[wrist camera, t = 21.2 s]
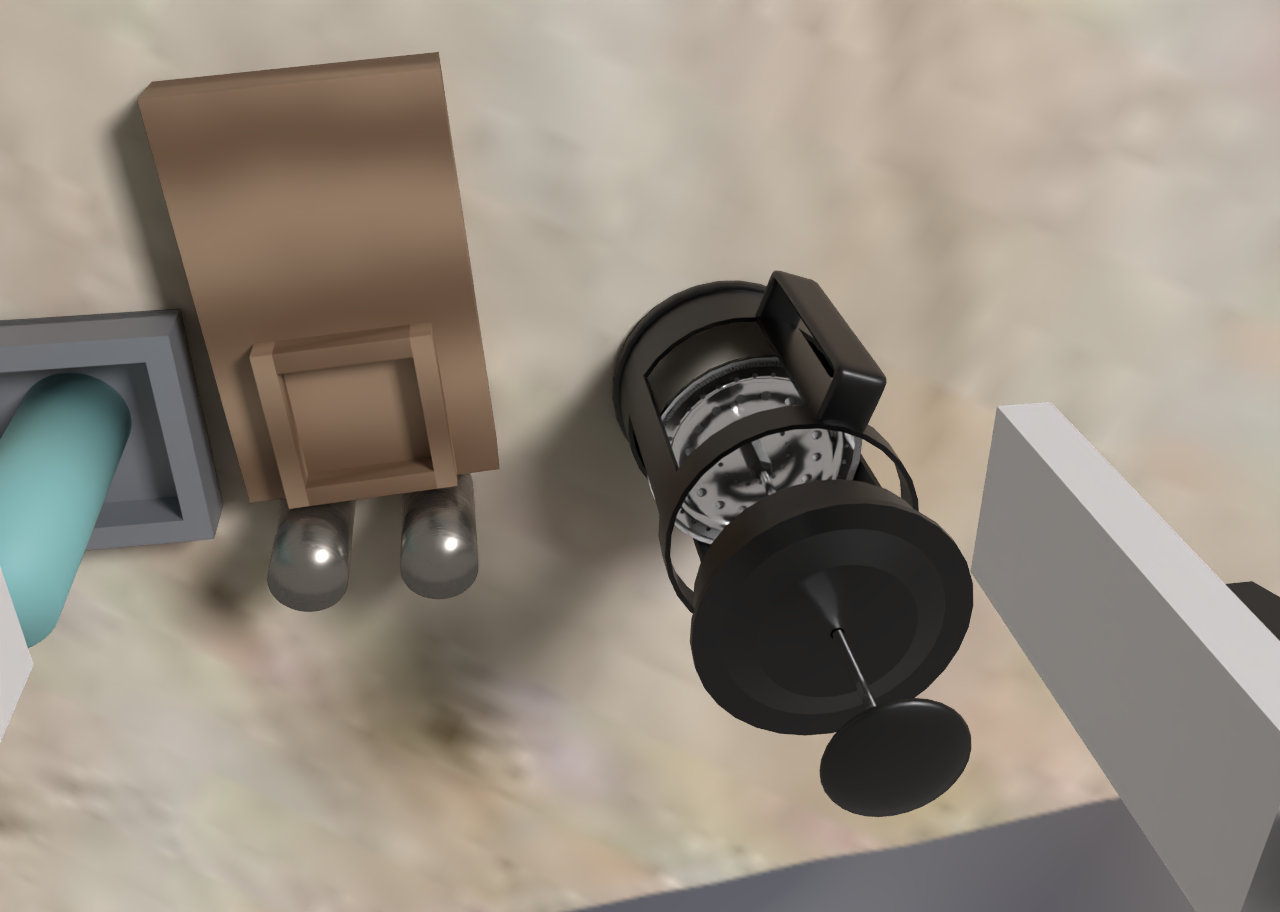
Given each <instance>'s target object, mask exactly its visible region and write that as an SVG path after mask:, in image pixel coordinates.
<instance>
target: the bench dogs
mask: <svg viewBox="0 0 1280 912" xmlns="http://www.w3.org/2000/svg"><path fill="white" fill-rule="evenodd" d="M457 485H458V486H453V487H445V488H438V489H431V490H423V491H416V492H409V493H403V499H402V530H401V561H400V571H401V576H402V578H403V581H404V582H405V584H406V585H407V586H408V587H409V588H410V589H411V590H412V591H413V592H415V593H417V594H418V595H421V596H423V597H427V598H432V599H445V598H450V597H454V596H456V595H459V594H461V593H462V592H464V591H465V590H467V589H468V588H469V587H470V586H471V585H472V583H473V582H474V581H475V579H476V577H477V573H478V551H477V535H476V519H475V504H474V488H473V480H472V477H471V475H470V473H466V474H459V475H457ZM355 504H356V500H350V501H343V502H336V503H328V504H321V505H314V506H306V507H299V508H292V509H289V507H288V503H287V499H286V498H282V504H281V509H280V514H279V519H278V524H277V530H276V535H275V540H274V545H273V550H272V556H271V561H270V566H269V571H268V578H267V580H268V586H269V589H270V591H271V593H272V594H273V596H274V597H275V598H276V599H277V600H278V601H279V602H280V603H282V604H283V605H285V606H287V607H289V608H291V609H294V610H298V611H306V612H312V611H319V610H323V609H326V608H329V607H330V606H332V605H334V604H335V603H337V602H338V601H339V600H340V599H341V598H342V597H343V595H344V594H345V592H346V590H347V586H348V578H349V568H350V557H351V546H352V536H353V525H354V515H355Z"/></svg>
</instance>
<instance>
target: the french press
mask: <svg viewBox="0 0 1280 912" xmlns="http://www.w3.org/2000/svg"><path fill="white" fill-rule="evenodd" d="M756 321H757V323H758V325H759V326H760V328H761V330H762V332H763V333H764V335H765V337H766V338H767V340H768V342H769V344H770V345H771V347H772V349H773V351H774V352H775V354H776V355H757V356H748V357H744V358H740V359H736V360H732V361H729V362H726V363H724V364H721V365H719V366H716V367H714V368H712V369H709V370H708V371H706V372H705V373H703V374H701V375H700V376H698V377H697V378H695V379H693V380H692V381H691V382H689V383H688V384H687V385H686V386H685V387H684V388H682V389H681V390H680V391H679V392H678V393H677V394H676V395H675V396H674V397H673V398H672V399H671V400H670V402H669V403H668V404H667V405H666V407H665V408H664V409H663V411H662V412H661V414H660V412H659V410H658V407H657V404H656V401H655V398H654V395H653V393H652V390H651V387H650V384H649V381H648V378H647V377H648V376H649V375H650V373H651V372H652V371H653V369H654V368H655V367H656V365H657V364H658V363H659V361H660V360H661V359H662V358H664V357H665V356H666V355H667V354H668V353H669V352H670V351H671V350H672V349H673V348H675V347H676V346H677V345H679V344H680V343H682V342H684V341H685V340H687V339H688V338H690V337H691V336H693V335H695V334H697V333H700V332H702V331H705V330H707V329H710V328H712V327H715V326H720V325H724V324H729V323H734V322H756ZM885 385H886V377H885V375H884V373H883V372H882V371H881V369H880V368H879V366H878V365H877V364H876V362H875V361H874V360H873V358H872V357H871V356H870V354H869V353H868V351H867V350H866V349H865V347H864V346H863V345H862V343H861V342H860V341H859V339H858V338H857V336H856V335H855V334H854V332H853V331H852V330H851V328H850V327H849V326H848V324H847V323H846V322H845V320H844V319H843V317H842V316H841V315H840V313H839V312H838V311H837V309H836V308H835V307H834V305H833V304H832V302H831V301H830V300H829V298H828V297H827V296H826V294H825V293H824V292H823V290H822V289H821V287H820V286H819V285H818V284H817V283H816V282H815V281H813V280H811V279H807V278H804V277H800V276H796V275H793V274H789V273H786V272H782V271H774V272H773V273H772V275H771V277H770V280H769V282H768V285H767V286H764V285H762V284H756V283H751V282H745V281H716V282H711V283H707V284H702V285H697V286H694V287H692V288H689V289H687V290H684V291H682V292H680V293H677V294H675V295H673V296H672V297H670V298H669V299H667V300H665V301H664V302H662V303H661V304H659V305H658V306H656V307H655V308H654V309H653V310H652V311H651V312H650V313H649V314H647V315H646V316H645V317H644V318H643V319H642V320H641V321H640V322H639V323H638V325H637V326H636V327H635V329H634V330H633V332H632V333H631V334H630V336H629V337H628V338H627V340H626V342H625V344H624V346H623V349H622V351H621V353H620V355H619V357H618V360H617V364H616V368H615V372H614V376H613V397H612V398H613V403H614V408H615V413H616V418H617V420H618V423H619V425H620V427H621V429H622V432H623V434H624V436H625V438H626V439H627V440H628V442H629V443H630V447H631V450H632V453H633V455H634V457H635V460H636V462H637V464H638V466H639V469H640V470H641V471H642V473H643V474H644V475H645V477H646V478H647V479H648V481H649V485H650V490H651V492H652V495H653V497H654V499H655V501H656V504H657V507H658V511H659V514H660V516H659V540H660V546H661V551H662V556H663V559H664V563H665V566H666V570H667V573H668V577H669V579H670V581H671V583H672V585H673V588H674V590H675V592H676V594H677V596H678V597H679V598H680V600H681V601H682V602H683V603H684V605H685V606H686V607H687V608H688V610H689V611H690V612H691V613H693V615H692V619H691V633H690V645H691V650H692V656H693V661H694V665H695V669H696V671H697V673H698V675H699V677H700V680H701V682H702V684H703V686H704V688H705V689H706V691H707V692H708V693H709V694H710V695H711V697H712V698H713V699H714V700H715V701H716V703H717V704H718V705H719V706H721V707H722V708H723V709H725V710H726V711H727V712H729V713H730V714H731V715H733V716H734V717H735V718H737V719H739V720H741V721H743V722H746V723H748V724H750V725H752V726H754V727H756V728H760V729H764V730H768V731H772V732H776V733H780V734H793V735H816V734H828V733H834V732H837V733H836V734H835V735H834V736H833V737H832V739H831V740H830V742H829V743H828V745H827V747H826V749H825V751H824V754H823V756H822V759H821V764H820V779H821V784H822V786H823V788H824V791H825V793H826V794H827V795H828V796H829V798H830V799H831V800H832V801H833V802H834V803H836V804H837V805H838V806H840V807H841V808H842V809H845V810H847V811H849V812H851V813H854V814H858V815H863V816H872V817H884V816H894V815H898V814H902V813H906V812H909V811H912V810H915V809H917V808H920V807H922V806H924V805H926V804H928V803H930V802H931V801H933V800H935V799H936V798H938V797H939V796H940V795H942V794H943V793H945V792H946V791H947V790H948V789H949V788H950V787H951V786H952V785H953V784H954V783H955V782H956V781H957V779H958V778H959V777H960V775H961V774H962V772H963V771H964V769H965V767H966V765H967V763H968V760H969V756H970V752H971V734H970V731H969V728H968V725H967V724H966V722H965V721H964V719H963V718H962V716H961V715H960V714H958V713H957V712H956V711H955V710H954V709H952V708H950V707H949V706H947V705H945V704H943V703H940V702H936V701H933V700H929V699H919V698H915V697H916V696H917V695H919V694H920V693H921V692H923V691H924V690H925V689H927V688H928V687H929V686H930V685H931V684H932V682H933V681H934V680H935V679H936V678H937V677H938V676H939V675H940V674H941V673H942V672H943V671H944V670H945V669H946V667H947V666H948V664H949V663H950V661H951V660H952V658H953V657H954V656H955V654H956V653H957V651H958V650H959V648H960V645H961V643H962V641H963V639H964V636H965V634H966V632H967V630H968V627H969V622H970V618H971V613H972V609H973V583H972V579H971V575H970V572H969V568H968V565H967V562H966V560H965V558H964V557H963V555H962V553H961V552H960V550H959V548H958V547H957V545H956V543H955V542H954V540H953V539H952V538H951V537H950V536H949V535H948V534H947V533H946V532H945V531H944V530H943V529H942V528H941V527H940V526H939V525H938V524H937V523H936V522H935V521H933V520H931V519H930V518H928V517H926V516H925V515H923V514H921V513H920V512H919V510H918V498H917V495H916V491H915V488H914V485H913V481H912V479H911V477H910V476H909V474H908V472H907V471H906V469H905V467H904V466H903V464H902V462H901V461H900V459H899V458H898V456H897V455H896V453H895V452H894V450H893V449H892V447H891V446H890V444H889V443H888V442H887V441H886V440H885V439H884V438H883V437H882V436H881V435H880V434H879V433H878V432H877V431H876V430H875V429H874V428H873V427H871V426H869V425H868V423H869V420H870V418H871V416H872V414H873V412H874V410H875V408H876V406H877V404H878V401H879V399H880V397H881V395H882V393H883V391H884V388H885ZM862 439H864V440H866V441H867V442H869V443H870V444H872V445H874V446H875V447H877V448H879V449H880V450H882V451H883V452H884V453H885V454H886V455H887V456H888V457H889V458H890V459H891V460H892V461H893V462H894V463H895V466H896V469H897V473H898V476H899V479H900V486H901V498H900V497H898V496H897V495H895V494H893V493H892V492H890V491H888V490H887V489H884V488H882V487H881V485H880V484H879V482H878V481H877V479H876V477H875V476H874V474H873V472H872V471H871V469H870V468H869V466H868V464H867V463H866V461H865V459H864V458H863V456H862V455H861V447H862ZM674 525H675V526H676V527H677V528H678V529H679V530H681V531H682V532H683V533H685V534H687V535H689V536H691V537H693V540H694V543H695V546H696V549H697V552H698V555H699V558H700V561H701V564H700V567H699V570H698V574H697V577H696V580H695V583H694V592H693V591H692V590H691V589H690V588H688V587H687V586H686V585H685V583H684V582H683V581H682V579H681V578H680V577H679V576H678V574H677V573H676V572H675V570H674V568H673V565H672V563H671V558H670V548H671V534H672V531H673V527H674Z"/></svg>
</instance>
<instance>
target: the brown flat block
mask: <svg viewBox="0 0 1280 912" xmlns="http://www.w3.org/2000/svg"><path fill="white" fill-rule="evenodd" d="M137 101H138V105H139V108H140V112H141V115H142V119H143V122H144V126H145V130H146V133H147V137H148V140H149V144H150V147H151V151H152V155H153V158H154V162H155V165H156V169H157V173H158V176H159V180H160V183H161V187H162V190H163V194H164V198H165V201H166V205H167V208H168V212H169V215H170V219H171V223H172V226H173V230H174V233H175V237H176V240H177V244H178V248H179V251H180V255H181V258H182V262H183V265H184V269H185V273H186V276H187V280H188V283H189V287H190V290H191V294H192V298H193V301H194V305H195V308H196V312H197V315H198V319H199V323H200V326H201V330H202V333H203V337H204V340H205V344H206V348H207V351H208V355H209V358H210V362H211V365H212V369H213V373H214V376H215V380H216V383H217V387H218V390H219V394H220V398H221V401H222V405H223V408H224V412H225V415H226V419H227V423H228V426H229V430H230V433H231V437H232V440H233V444H234V448H235V451H236V455H237V458H238V462H239V465H240V469H241V473H242V476H243V480H244V483H245V487H246V490H247V494H248V498H249V501H250V503H252V502H260V501H267V500H274V499H282V498H286V499H287V503H288V507H289V509H292V508H299V507H306V506H314V505H321V504H328V503H336V502H343V501H350V500H358V499H365V498H372V497H379V496H387V495H394V494H401V493H409V492H416V491H423V490H431V489H438V488H445V487H453V486H458V485H457V475H459V474H466V473H473V472H481V471H488V470H496V469H499V459H498V449H497V438H496V431H495V425H494V418H493V411H492V405H491V398H490V391H489V385H488V378H487V371H486V365H485V358H484V351H483V345H482V338H481V331H480V325H479V318H478V311H477V305H476V298H475V291H474V285H473V278H472V271H471V265H470V258H469V251H468V245H467V238H466V231H465V225H464V218H463V211H462V205H461V198H460V191H459V185H458V178H457V171H456V165H455V158H454V151H453V145H452V138H451V131H450V125H449V118H448V111H447V105H446V98H445V91H444V85H443V78H442V71H441V65H440V58H439V52H435V53H425V54H415V55H406V56H396V57H386V58H377V59H367V60H358V61H348V62H338V63H329V64H319V65H309V66H300V67H290V68H281V69H271V70H261V71H252V72H242V73H232V74H223V75H213V76H203V77H194V78H184V79H175V80H165V81H155V82H152V83H151V84H150V85H149V86H148V87H147V88H146V90H145V91H144V92H143V93H142V94H141V96H140V97H139V98H138V99H137Z"/></svg>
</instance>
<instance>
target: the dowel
mask: <svg viewBox="0 0 1280 912" xmlns="http://www.w3.org/2000/svg"><path fill="white" fill-rule="evenodd" d="M131 426H132V421H131V414H130V411H129V408H128V406H127V404H126V402H125V401H124V399H123V398H122V396H121V395H120V394H119V393H118V392H117V391H116V390H115V389H114V388H113V387H111V386H110V385H108V384H107V383H105V382H104V381H102V380H100V379H98V378H95V377H93V376H89V375H86V374H80V373H59V374H54V375H51V376H48V377H46V378H43V379H42V380H40V381H38V382H37V383H36V384H34V385H33V386H32V387H31V388H30V390H29V391H28V392H27V394H26V395H25V397H24V399H23V401H22V402H21V404H20V406H19V408H18V409H17V411H16V413H15V415H14V416H13V418H12V420H11V422H10V423H9V425H8V427H7V429H6V430H5V432H4V434H3V436H2V437H1V439H0V567H1V570H2V573H3V576H4V579H5V582H6V585H7V588H8V591H9V594H10V597H11V599H12V602H13V605H14V608H15V611H16V614H17V617H18V620H19V623H20V626H21V629H22V632H23V635H24V638H25V641H26V644H27V647H28V648H29V647H31V646H34V645H35V644H37V643H39V642H40V641H42V640H43V639H44V638H46V637H47V636H48V635H49V634H50V633H51V631H52V630H53V629H54V627H55V625H56V623H57V621H58V619H59V616H60V614H61V611H62V609H63V606H64V603H65V601H66V598H67V596H68V593H69V590H70V588H71V585H72V583H73V580H74V578H75V575H76V572H77V570H78V567H79V565H80V562H81V559H82V557H83V554H84V552H85V549H86V547H87V544H88V541H89V539H90V536H91V534H92V531H93V529H94V526H95V523H96V521H97V518H98V516H99V513H100V510H101V508H102V505H103V503H104V500H105V498H106V495H107V492H108V490H109V487H110V485H111V482H112V479H113V477H114V474H115V472H116V469H117V467H118V464H119V461H120V459H121V456H122V454H123V451H124V448H125V446H126V443H127V441H128V438H129V435H130V432H131Z"/></svg>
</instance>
